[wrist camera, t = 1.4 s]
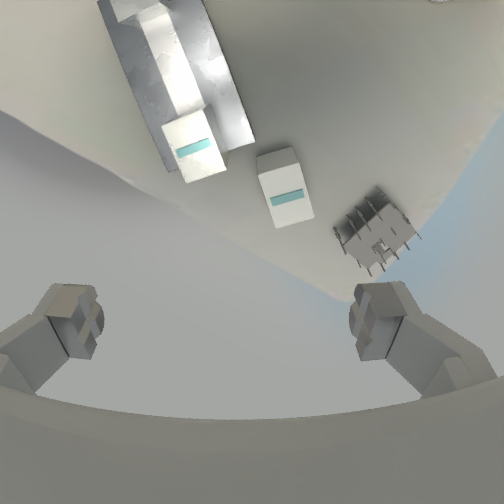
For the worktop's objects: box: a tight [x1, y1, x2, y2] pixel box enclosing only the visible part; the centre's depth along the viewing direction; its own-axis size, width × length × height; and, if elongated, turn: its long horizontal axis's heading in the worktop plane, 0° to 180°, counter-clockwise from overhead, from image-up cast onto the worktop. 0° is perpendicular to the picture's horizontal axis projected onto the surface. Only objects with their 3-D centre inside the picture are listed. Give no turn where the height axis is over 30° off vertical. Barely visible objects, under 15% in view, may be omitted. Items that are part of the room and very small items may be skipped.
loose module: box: [257, 146, 315, 229], centre depth 33 cm, size 4×6×6 cm, turn 19°
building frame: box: [333, 187, 420, 277], centre depth 36 cm, size 6×8×6 cm
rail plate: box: [97, 0, 255, 184], centre depth 25 cm, size 10×23×6 cm, turn 19°
